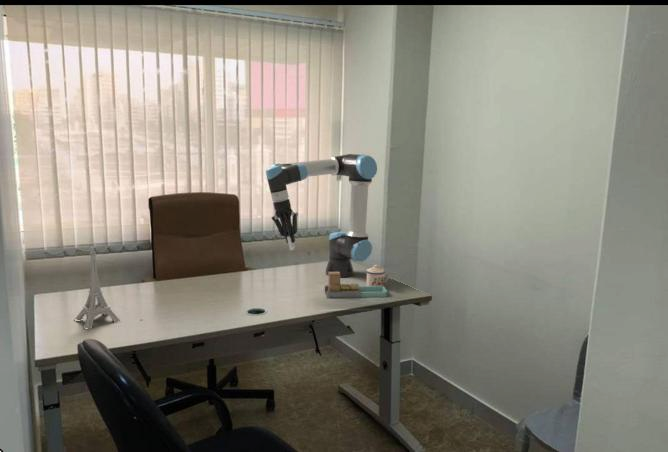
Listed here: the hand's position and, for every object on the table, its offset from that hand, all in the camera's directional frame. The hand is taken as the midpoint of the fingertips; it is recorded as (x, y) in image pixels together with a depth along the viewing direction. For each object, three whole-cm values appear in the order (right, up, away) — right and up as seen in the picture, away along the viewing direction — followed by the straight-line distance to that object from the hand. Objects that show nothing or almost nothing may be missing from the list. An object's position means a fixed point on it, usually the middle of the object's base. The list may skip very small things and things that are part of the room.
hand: (292, 249), depth 230 cm
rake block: (+19, -21, +2) cm, 28 cm away
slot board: (+23, -22, +3) cm, 32 cm away
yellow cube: (+29, -21, +3) cm, 36 cm away
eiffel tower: (-75, -27, -33) cm, 86 cm away
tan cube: (+24, -21, +3) cm, 32 cm away
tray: (+37, -22, +5) cm, 44 cm away
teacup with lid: (+41, -20, +17) cm, 48 cm away
